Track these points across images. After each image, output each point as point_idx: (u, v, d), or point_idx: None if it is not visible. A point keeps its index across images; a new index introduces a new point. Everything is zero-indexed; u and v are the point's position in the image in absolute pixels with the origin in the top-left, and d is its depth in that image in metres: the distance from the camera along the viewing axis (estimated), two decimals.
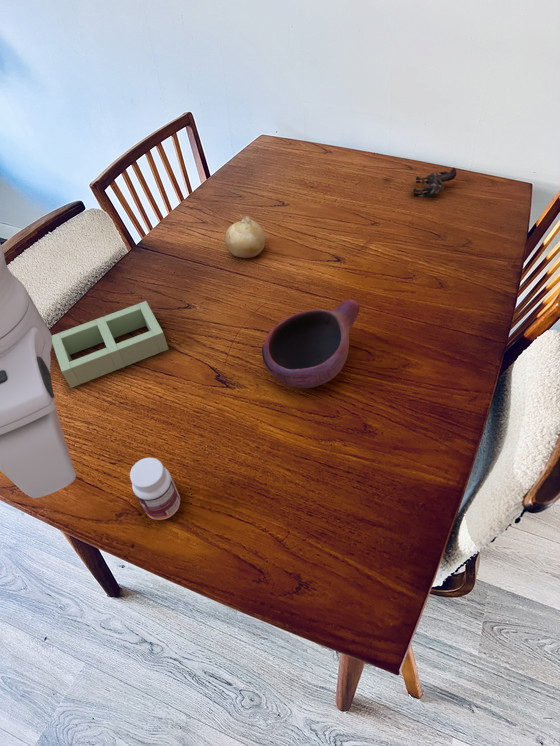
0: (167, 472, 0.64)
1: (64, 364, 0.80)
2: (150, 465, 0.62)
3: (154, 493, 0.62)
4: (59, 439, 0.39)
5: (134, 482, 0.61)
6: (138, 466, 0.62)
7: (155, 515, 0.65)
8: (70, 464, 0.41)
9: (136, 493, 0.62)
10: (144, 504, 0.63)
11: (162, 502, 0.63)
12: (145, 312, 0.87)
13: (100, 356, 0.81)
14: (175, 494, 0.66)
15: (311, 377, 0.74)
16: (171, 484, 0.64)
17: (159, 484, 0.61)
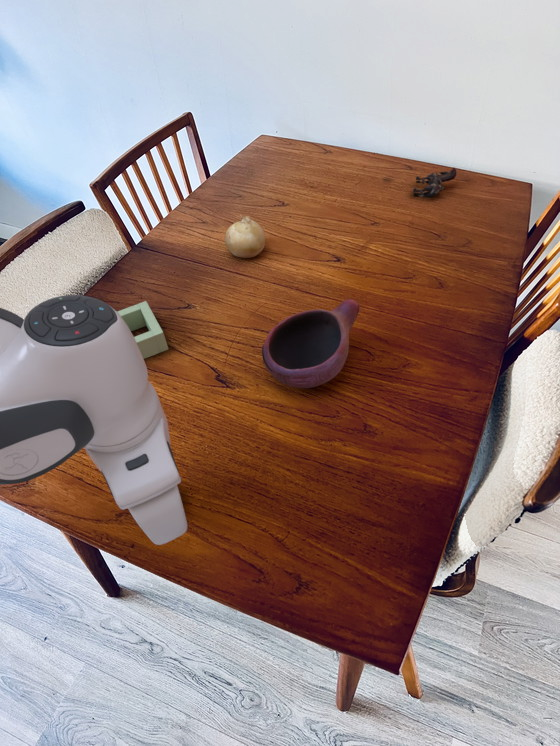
0: None
1: None
2: None
3: None
4: (181, 502, 0.53)
5: None
6: None
7: None
8: None
9: None
10: None
11: None
12: (145, 312, 0.87)
13: None
14: None
15: (311, 377, 0.74)
16: None
17: None
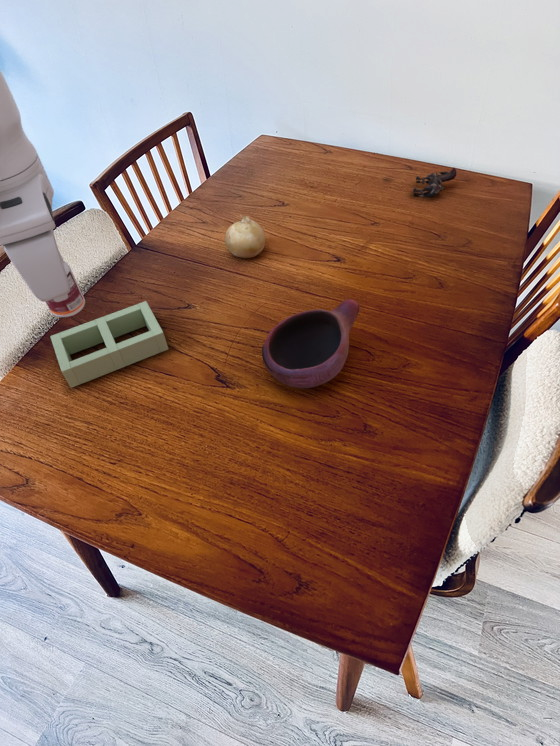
0: (66, 264, 0.67)
1: (64, 364, 0.80)
2: None
3: None
4: (58, 251, 0.56)
5: None
6: None
7: (57, 309, 0.69)
8: (65, 275, 0.58)
9: None
10: None
11: None
12: (145, 312, 0.87)
13: (100, 356, 0.81)
14: (76, 290, 0.69)
15: (311, 377, 0.74)
16: (70, 275, 0.67)
17: None
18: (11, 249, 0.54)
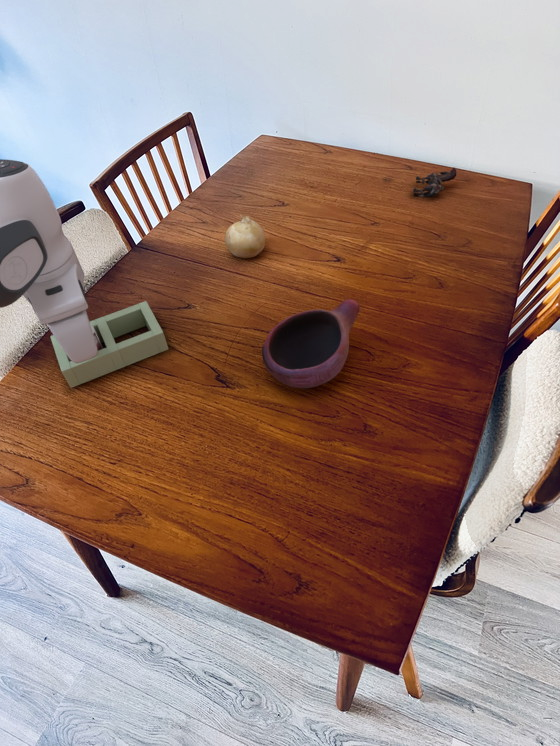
0: (91, 326, 0.82)
1: (64, 364, 0.80)
2: None
3: None
4: (89, 326, 0.71)
5: None
6: None
7: None
8: (95, 343, 0.72)
9: None
10: None
11: None
12: (145, 312, 0.87)
13: (100, 356, 0.81)
14: (99, 346, 0.84)
15: (311, 377, 0.74)
16: (94, 335, 0.82)
17: None
18: (54, 326, 0.69)
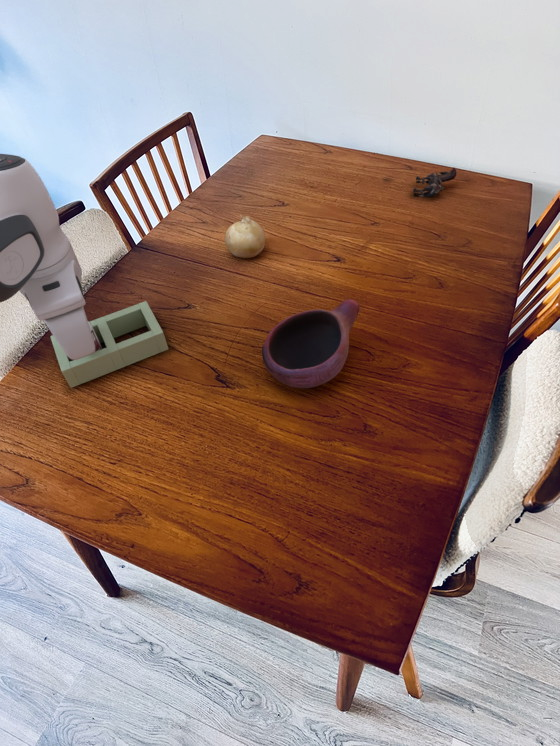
0: (89, 323, 0.81)
1: (64, 364, 0.80)
2: None
3: None
4: (87, 322, 0.70)
5: None
6: None
7: None
8: (92, 339, 0.72)
9: None
10: None
11: None
12: (145, 312, 0.87)
13: (100, 356, 0.81)
14: (97, 344, 0.83)
15: (311, 377, 0.74)
16: (92, 333, 0.81)
17: None
18: (51, 322, 0.68)
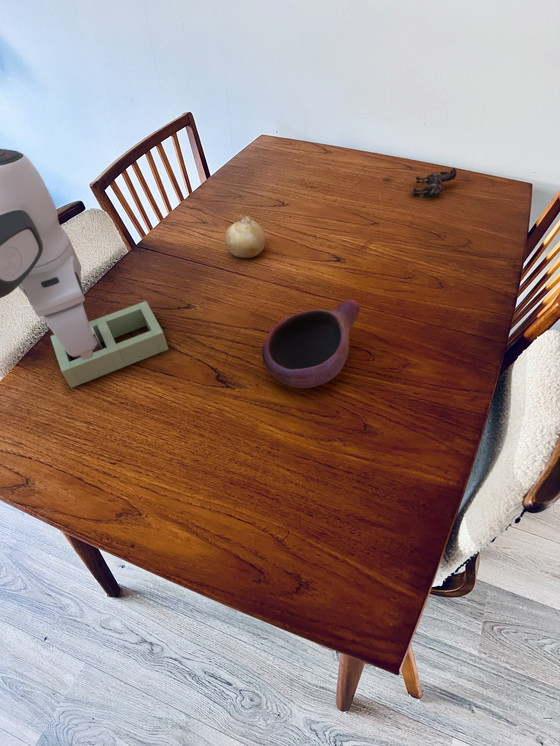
0: (91, 327, 0.82)
1: (64, 364, 0.80)
2: None
3: None
4: (86, 318, 0.70)
5: None
6: None
7: None
8: (92, 336, 0.71)
9: None
10: None
11: None
12: (145, 312, 0.87)
13: (100, 356, 0.81)
14: (99, 348, 0.84)
15: (311, 377, 0.74)
16: (94, 337, 0.82)
17: None
18: (50, 318, 0.68)
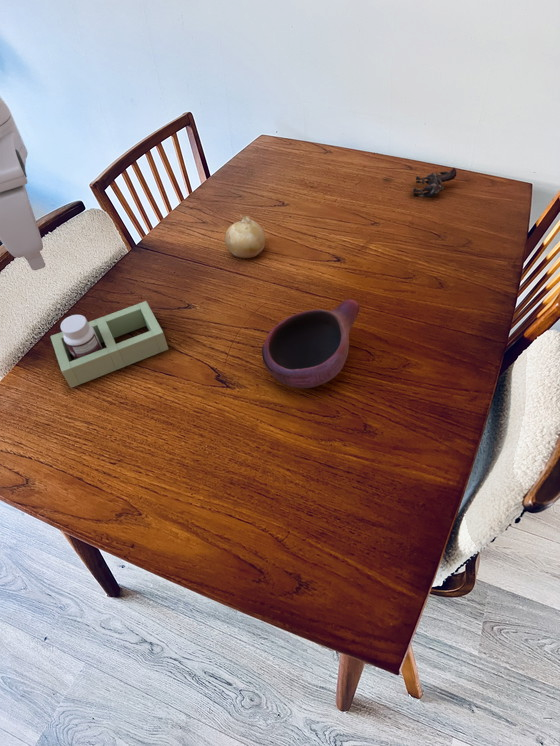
0: (91, 327, 0.82)
1: (64, 364, 0.80)
2: (77, 319, 0.80)
3: (79, 340, 0.80)
4: (30, 207, 0.58)
5: (63, 330, 0.79)
6: (67, 320, 0.80)
7: None
8: (38, 231, 0.60)
9: (66, 341, 0.81)
10: (73, 351, 0.82)
11: (87, 350, 0.82)
12: (145, 312, 0.87)
13: (100, 356, 0.81)
14: (99, 347, 0.84)
15: (311, 377, 0.74)
16: (94, 337, 0.82)
17: (83, 332, 0.80)
18: None
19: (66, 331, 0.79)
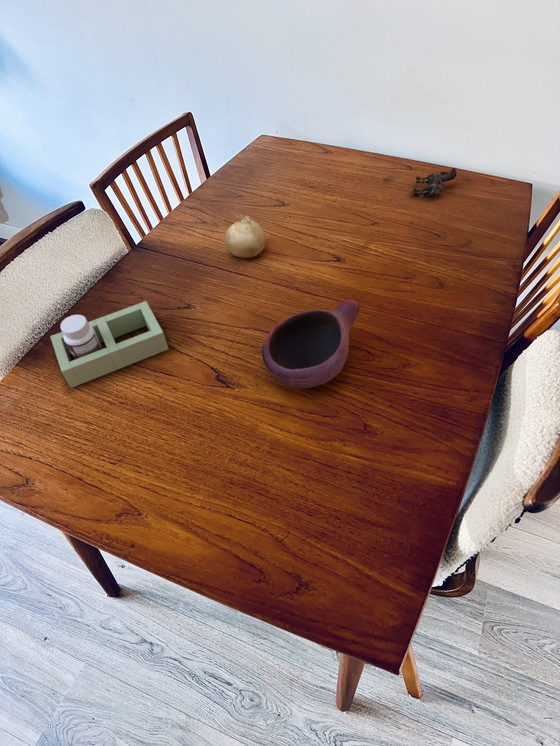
0: (91, 327, 0.82)
1: (64, 364, 0.80)
2: (77, 319, 0.80)
3: (79, 340, 0.80)
4: None
5: (63, 330, 0.79)
6: (67, 320, 0.80)
7: None
8: None
9: (66, 341, 0.81)
10: (73, 351, 0.82)
11: (87, 350, 0.82)
12: (145, 312, 0.87)
13: (100, 356, 0.81)
14: (99, 347, 0.84)
15: (311, 377, 0.74)
16: (94, 337, 0.82)
17: (83, 332, 0.80)
18: None
19: (66, 331, 0.79)
